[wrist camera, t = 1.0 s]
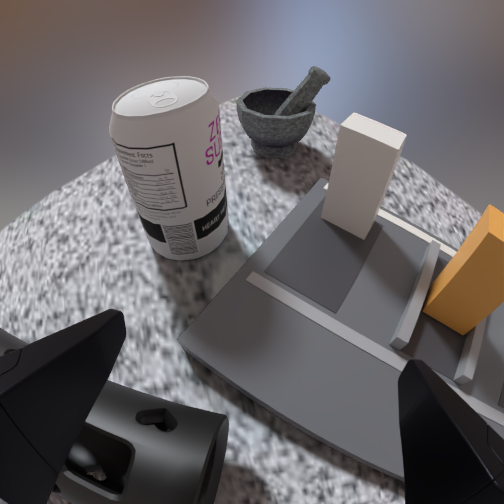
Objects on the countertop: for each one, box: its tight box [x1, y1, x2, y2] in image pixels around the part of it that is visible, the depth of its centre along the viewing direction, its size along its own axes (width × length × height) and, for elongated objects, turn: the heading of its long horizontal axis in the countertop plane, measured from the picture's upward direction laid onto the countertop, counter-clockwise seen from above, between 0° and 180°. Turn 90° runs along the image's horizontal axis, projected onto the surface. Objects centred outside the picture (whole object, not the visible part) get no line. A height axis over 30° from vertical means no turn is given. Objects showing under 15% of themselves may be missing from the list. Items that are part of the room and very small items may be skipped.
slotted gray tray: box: [177, 113, 504, 482], centre depth 17 cm, size 22×34×12 cm, turn 54°
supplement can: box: [109, 76, 229, 261], centre depth 24 cm, size 8×8×15 cm
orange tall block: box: [422, 204, 504, 335], centre depth 17 cm, size 3×5×10 cm, turn 54°
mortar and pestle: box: [236, 66, 330, 159], centre depth 35 cm, size 11×9×12 cm
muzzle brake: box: [0, 328, 229, 504], centre depth 14 cm, size 10×28×10 cm, turn 79°
